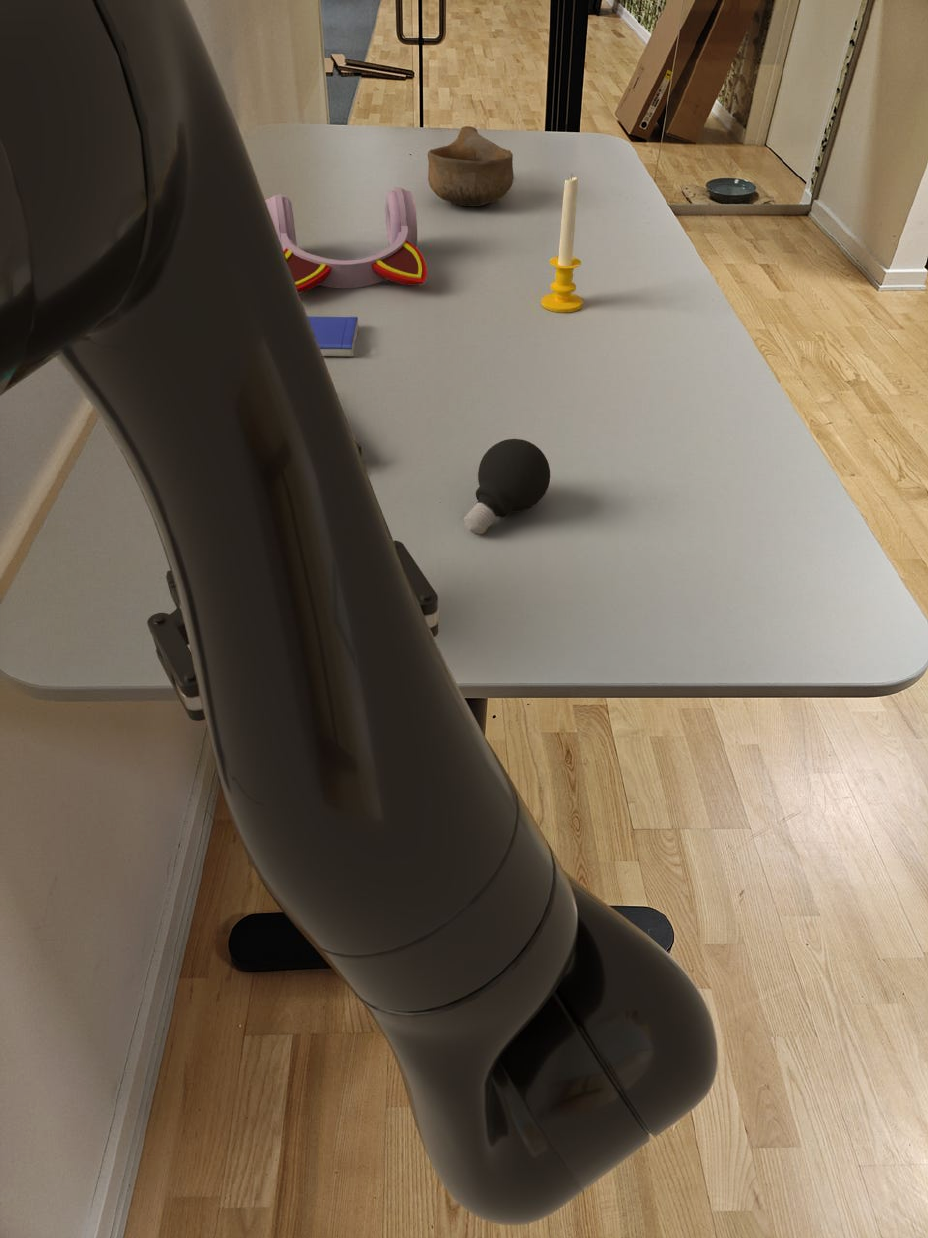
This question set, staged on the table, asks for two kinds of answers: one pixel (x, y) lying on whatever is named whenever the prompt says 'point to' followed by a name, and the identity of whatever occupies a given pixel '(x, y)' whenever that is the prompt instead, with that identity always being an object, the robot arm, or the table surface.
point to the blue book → (335, 334)
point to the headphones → (391, 263)
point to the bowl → (470, 170)
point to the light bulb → (508, 482)
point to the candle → (565, 257)
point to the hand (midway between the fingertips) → (255, 548)
